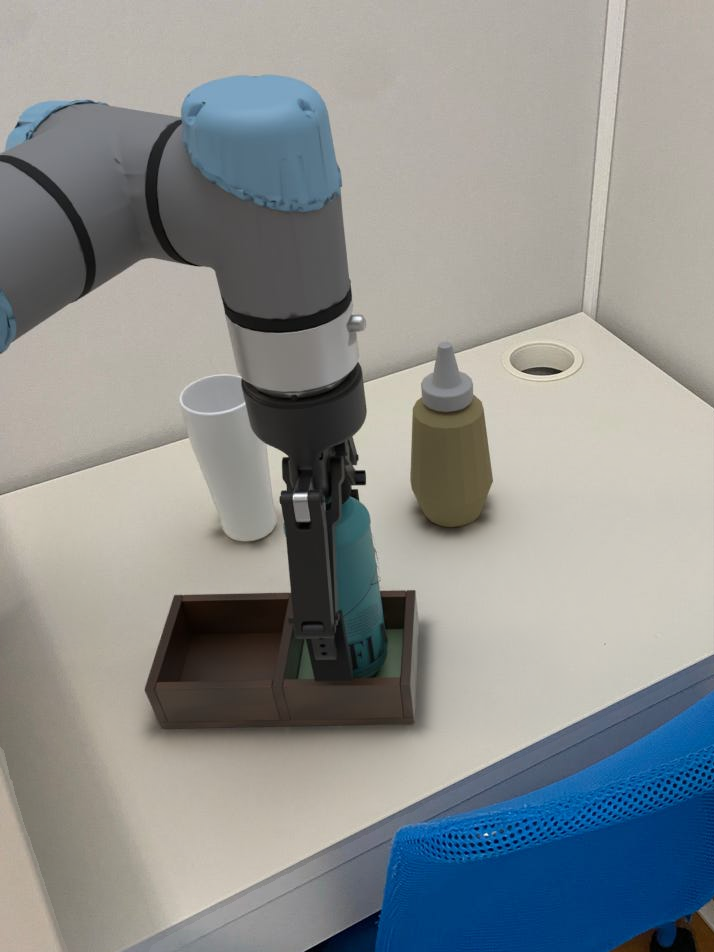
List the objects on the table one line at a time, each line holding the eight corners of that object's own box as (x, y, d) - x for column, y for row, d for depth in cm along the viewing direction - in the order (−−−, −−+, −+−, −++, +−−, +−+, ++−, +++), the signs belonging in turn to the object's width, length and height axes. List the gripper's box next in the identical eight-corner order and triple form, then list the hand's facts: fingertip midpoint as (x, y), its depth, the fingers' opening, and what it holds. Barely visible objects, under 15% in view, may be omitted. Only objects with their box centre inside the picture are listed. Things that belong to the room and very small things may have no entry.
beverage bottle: (355, 709, 75) (320, 511, 60) (296, 673, 78) (248, 475, 63) (408, 660, 78) (386, 462, 64) (349, 627, 81) (316, 430, 67)
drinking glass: (208, 549, 90) (168, 414, 79) (224, 505, 95) (188, 372, 84) (278, 549, 90) (247, 414, 79) (290, 505, 95) (263, 372, 84)
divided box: (160, 728, 75) (143, 689, 72) (187, 634, 82) (173, 594, 79) (414, 723, 75) (410, 684, 71) (419, 629, 82) (415, 589, 79)
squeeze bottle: (472, 544, 90) (467, 377, 77) (398, 523, 92) (381, 357, 80) (506, 497, 95) (506, 332, 82) (435, 478, 98) (424, 315, 85)
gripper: (342, 489, 49) (380, 738, 65) (374, 275, 67) (398, 511, 82) (200, 492, 49) (271, 740, 65) (269, 277, 67) (312, 513, 82)
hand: (342, 612), depth 73 cm, fingers open, 13 cm apart
